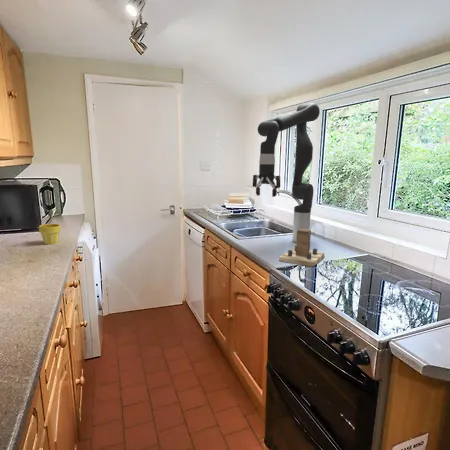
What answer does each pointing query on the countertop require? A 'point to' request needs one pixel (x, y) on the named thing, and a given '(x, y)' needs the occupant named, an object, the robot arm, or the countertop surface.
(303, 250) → the walnut block
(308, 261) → the wooden peg board
